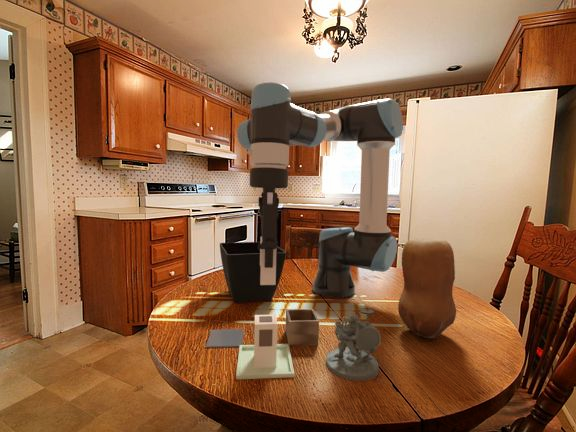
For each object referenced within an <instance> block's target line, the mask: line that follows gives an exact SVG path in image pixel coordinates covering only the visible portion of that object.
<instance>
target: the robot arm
mask: <svg viewBox="0 0 576 432" xmlns="http://www.w3.org/2000/svg"><path fill="white" fill-rule="evenodd" d="M291 101H292V98H291V90H290V89H289V87H288V86H286V85H285V84H282V83H279V82H271V81H270V82H262V83H259V84H257V85H255V86H254V87H253V89H252V91H251V99H250V102H251V103H250V118H248V119H246V120H243V121H241V122H240V123H239V125H238V127H237V131H236V135H237V140H238V143H239V144H240V146H241V147H242V148H244V149H245V150H247V151H246V154H247V155H249V156H250V158H249V159H250V161H249V162H250V163H249V164H250V165H251V166H252V167H251V168H250V169H249V186H250V187H251V188H256V189H258V188H259V189H260V188H261V189H262V192H261V194H260V196H259V197H258V203H257V204H258V207H259V212H258V213H259V218H260V219H261V220H260V221H261V222H260V229H259V230H260V232H259V233H260V241H259V242H260V244H258V249H260V266H261V274H260V285H276V247H277V246H278V243H279V242H278V217H279V205H280V197H279V195H278V192H276V189H286V188H288V186H289V171H288V169H287V167H288V166H289V165H290V164H289V163H290V147H294V146H302V147H304V148H315V147H317V146H319V145H320V144H322V142H356V143H357V144H356V145H357V147H359V148H360V150H361V165H360V192H359V217H358V218H359V220H358V222H359V223H358V225H356V226H355V227H354V228H353V227H350V226H348V227H347V226H346V227H331V228H323V229H321V230H320V232H319V239H318V265H317V266H318V269H317V271H316V274H315V277H314V280H313V282H312V290H313V292H314V293H315V294H317V295H319V296H323V297H327V298H335V299H336V298H337V299H340V298H343V299H344V298H348V297H349V298H350V297H351V296H353V295H355V293H356V292H355V291H356V290H355V289H356V285H355V282H354V278H353V275H352V274H353V273H352V272H351V271H352V269H351V268H352V267H355V268H358V269H359V268H360V269H363V270H368V271H371V272H381V273H384V272H386V271H388V270H390V268H391V267H392V265H393V263H394V261H395V260H396V259H395V258H396V257H397V256H396V255H397V251H398V242H397V241H398V240H397V238H396V237H394V236H392V229H390V227H389V226H388V225H387V221H388V220H387V218H388V201H389V200H388V199H389V198H388V197H389V196H388V195H389V171H390V155H391V154H390V151H391V149H392V148H393V147H394V146H395V145H396V139H397V138H399V137H401V136H402V134H403V130H404V119H403V118H404V117H403V114H402V111H401V108H400V106H399V104H398V102H397V100H395V99H393V98H383V99H380V98H379V99H378V98H377V100H376V99H375V100H372V101H371V100H370V101H365V102H361V103H360V102H359V103H355V104H350V105H345V106H342V107H338V108H336V109H333V110H325V111H323V112H321V113H319V114H317V113H315V112H314V111H312V110H308V109H305V108H303V107H301V106H297V105H295V104H294V103H291ZM353 229H354V230H353Z"/></svg>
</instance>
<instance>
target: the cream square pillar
mask: <svg viewBox="0 0 576 432" xmlns="http://www.w3.org/2000/svg"><path fill="white" fill-rule="evenodd" d="M277 344H278V319H277V314H255V315H254V323H253V345H254V368H275V367H276V360H277Z"/></svg>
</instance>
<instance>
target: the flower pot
mask: <svg viewBox="0 0 576 432" xmlns="http://www.w3.org/2000/svg"><path fill="white" fill-rule="evenodd" d="M258 244H260V241H243V242H241V241H238V242H220V243H219V251H220V259H221V264H222V270H223V274H224V278H225V282H226V286H227V289H228V292H229V294H230V296H231V299H232V302H233V303H236V304H238V303H239V304H241V303H248V302H249V303H251V302H260V301H261V302H262V301H270V300H272V299H273V298H274V295H275V293H276V291H277V288H278V285H279V283H280V279H281V277H282V273H283V269H284V264H285V261H286V255H287V252H286V251H285V250H284V249H282V248H281V247H279V246H278V245H277V247H276V285H260V274H261V266H260V249H258Z"/></svg>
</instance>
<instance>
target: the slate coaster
mask: <svg viewBox="0 0 576 432" xmlns="http://www.w3.org/2000/svg"><path fill="white" fill-rule="evenodd" d="M244 331H245V330H244V329H243V328H240V329H239V328H234V329H233V328H231V329H230V328H229V329H227V328H226V329H225V328H224V329H211V330H210V333H209V336H208V339H207V342H206V345H205V348H206V349H217V348H218V349H219V348H221V349H224V348H239V347H240V345H243V340H244Z"/></svg>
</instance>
